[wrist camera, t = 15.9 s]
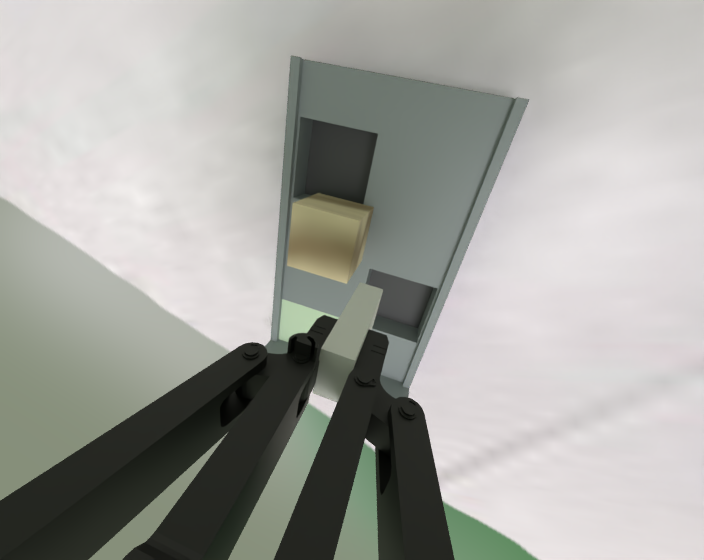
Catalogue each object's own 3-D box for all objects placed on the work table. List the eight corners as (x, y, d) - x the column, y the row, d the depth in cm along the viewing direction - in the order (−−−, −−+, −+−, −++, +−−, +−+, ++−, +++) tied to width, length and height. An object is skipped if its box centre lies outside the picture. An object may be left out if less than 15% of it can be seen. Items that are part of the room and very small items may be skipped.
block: (318, 192, 27) (292, 202, 22) (374, 207, 26) (359, 220, 21) (311, 246, 29) (286, 265, 24) (361, 260, 28) (346, 283, 24)
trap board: (308, 66, 25) (275, 45, 20) (516, 106, 22) (540, 93, 17) (283, 328, 39) (260, 356, 34) (409, 372, 36) (405, 409, 31)
